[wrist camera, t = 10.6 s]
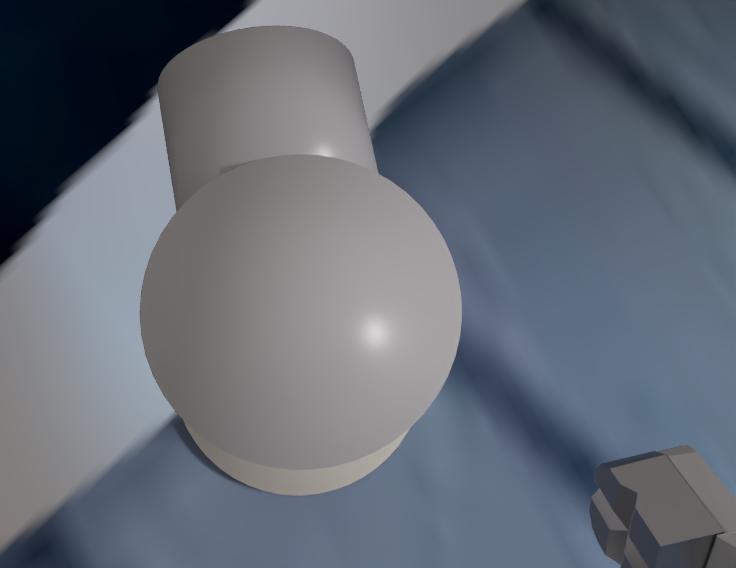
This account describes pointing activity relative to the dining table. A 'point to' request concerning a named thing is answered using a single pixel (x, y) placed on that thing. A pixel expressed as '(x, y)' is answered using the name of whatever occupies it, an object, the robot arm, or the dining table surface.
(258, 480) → the flange
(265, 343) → the elbow
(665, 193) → the dining table surface
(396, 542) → the dining table surface
